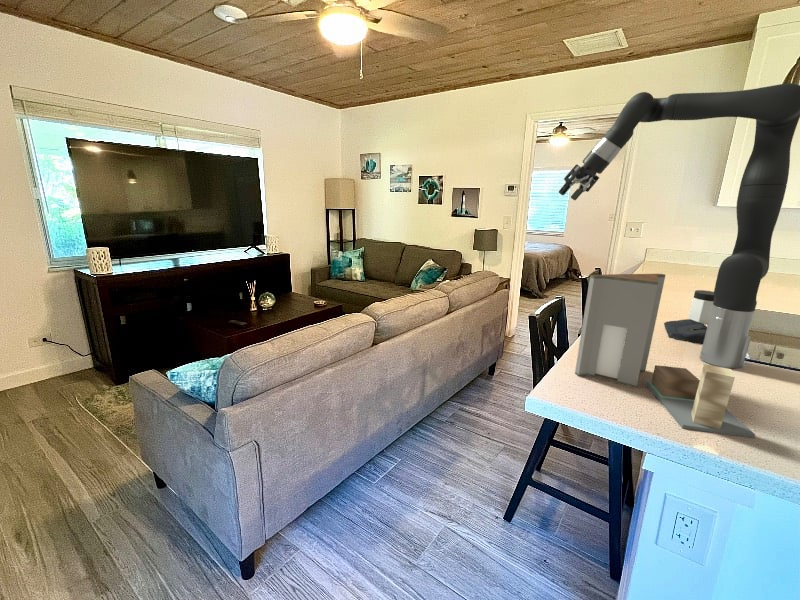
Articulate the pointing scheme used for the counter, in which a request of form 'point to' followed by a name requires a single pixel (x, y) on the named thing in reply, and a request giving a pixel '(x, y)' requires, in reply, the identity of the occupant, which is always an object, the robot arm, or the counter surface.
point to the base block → (675, 382)
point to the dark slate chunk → (686, 330)
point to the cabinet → (618, 326)
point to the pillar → (712, 396)
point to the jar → (701, 306)
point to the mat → (683, 416)
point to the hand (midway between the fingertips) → (566, 196)
